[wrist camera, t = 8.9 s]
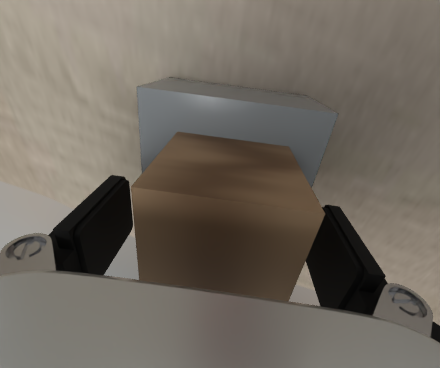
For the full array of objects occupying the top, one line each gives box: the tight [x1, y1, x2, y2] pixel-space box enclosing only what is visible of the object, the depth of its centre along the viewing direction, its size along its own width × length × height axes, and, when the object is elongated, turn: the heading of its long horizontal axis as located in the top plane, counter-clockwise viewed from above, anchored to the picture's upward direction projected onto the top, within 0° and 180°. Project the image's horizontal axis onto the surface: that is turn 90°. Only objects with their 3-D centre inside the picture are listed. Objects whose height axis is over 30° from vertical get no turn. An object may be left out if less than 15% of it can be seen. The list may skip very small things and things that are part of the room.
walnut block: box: [131, 132, 325, 301], centre depth 11 cm, size 6×6×6 cm
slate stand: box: [137, 77, 338, 188], centre depth 16 cm, size 10×10×6 cm
